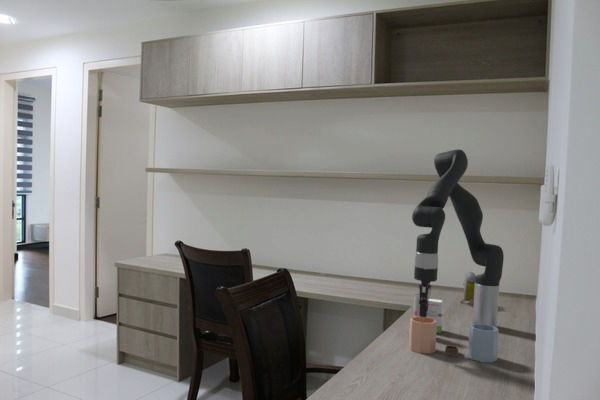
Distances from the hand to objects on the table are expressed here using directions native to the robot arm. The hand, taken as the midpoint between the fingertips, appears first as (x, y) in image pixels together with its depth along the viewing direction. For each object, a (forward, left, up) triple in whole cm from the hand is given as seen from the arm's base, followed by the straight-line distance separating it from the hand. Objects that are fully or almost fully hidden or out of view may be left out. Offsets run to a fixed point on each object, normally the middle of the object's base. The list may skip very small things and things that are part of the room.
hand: (423, 313), depth 166 cm
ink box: (-22, -10, -12) cm, 28 cm away
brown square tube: (-4, +8, -12) cm, 15 cm away
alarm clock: (-77, -23, -12) cm, 82 cm away
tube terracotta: (0, 0, -12) cm, 12 cm away
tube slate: (-9, +17, -12) cm, 23 cm away
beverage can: (-13, -10, -12) cm, 21 cm away
